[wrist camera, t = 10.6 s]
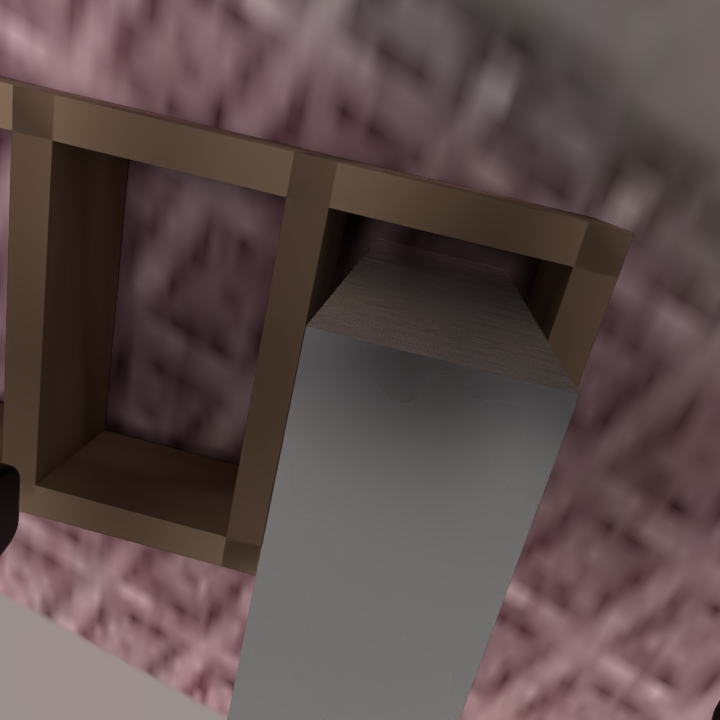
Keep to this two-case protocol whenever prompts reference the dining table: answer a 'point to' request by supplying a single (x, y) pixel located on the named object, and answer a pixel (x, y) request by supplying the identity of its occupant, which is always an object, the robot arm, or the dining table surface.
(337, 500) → the grey metallic rectangular block
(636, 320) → the dining table surface
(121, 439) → the rack
